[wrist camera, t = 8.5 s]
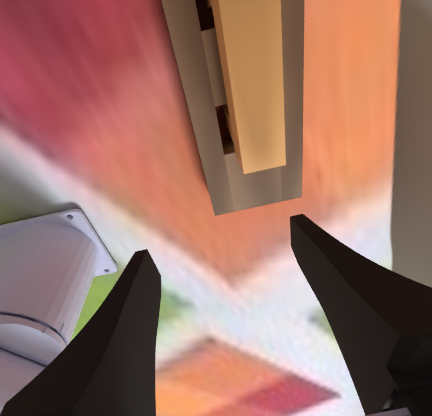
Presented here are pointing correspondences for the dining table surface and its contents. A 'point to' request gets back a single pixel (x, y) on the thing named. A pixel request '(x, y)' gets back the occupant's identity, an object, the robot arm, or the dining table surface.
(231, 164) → the rail
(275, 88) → the tan wooden beam
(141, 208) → the dining table surface
